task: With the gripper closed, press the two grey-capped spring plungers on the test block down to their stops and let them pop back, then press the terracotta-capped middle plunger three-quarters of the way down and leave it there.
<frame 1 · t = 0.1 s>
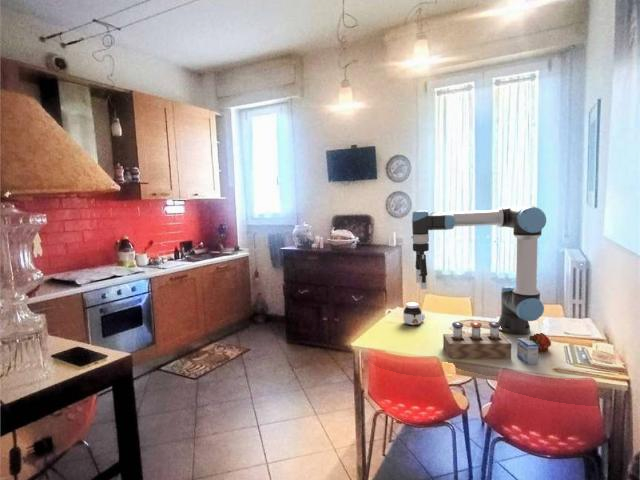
hand: (421, 285, 187), 28 cm above the table, fingers open, 13 cm apart
medicine box: (527, 360, 164), on the table
dragon fruit: (539, 350, 174), on the table
spread jar: (414, 323, 216), on the table
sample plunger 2: (494, 332, 171), point 9 cm above the table, slide at 0.0 cm
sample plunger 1: (457, 333, 172), point 9 cm above the table, slide at 0.0 cm
test block: (475, 353, 173), on the table
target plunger: (475, 333, 172), point 9 cm above the table, slide at 0.0 cm
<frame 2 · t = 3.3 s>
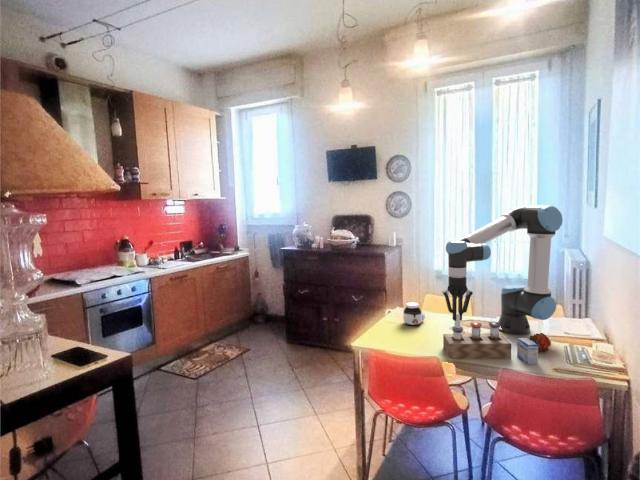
hand: (457, 327, 172), 12 cm above the table, fingers closed
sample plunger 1: (457, 337, 173), point 8 cm above the table, slide at 1.9 cm, touching gripper
everything else where it was.
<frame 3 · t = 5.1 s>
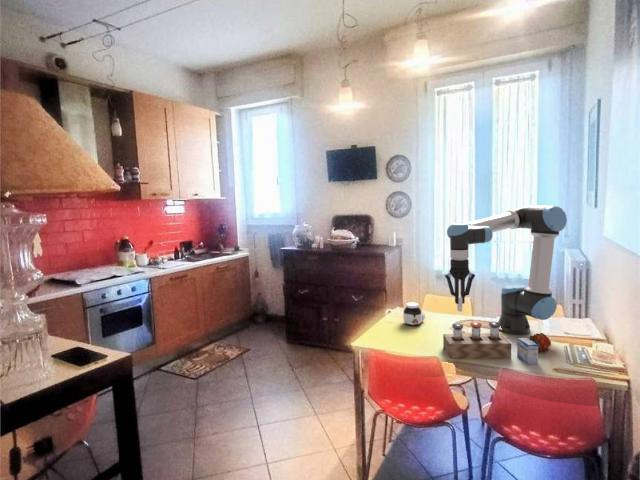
hand: (459, 310, 171), 20 cm above the table, fingers closed
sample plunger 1: (457, 334, 172), point 9 cm above the table, slide at 0.6 cm
everything else where it was.
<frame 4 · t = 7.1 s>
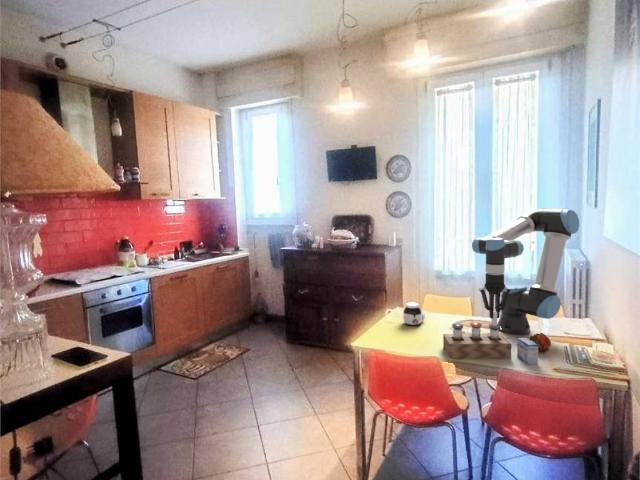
hand: (494, 325, 170), 13 cm above the table, fingers closed
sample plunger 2: (494, 335, 171), point 8 cm above the table, slide at 1.1 cm, touching gripper
everything else where it was.
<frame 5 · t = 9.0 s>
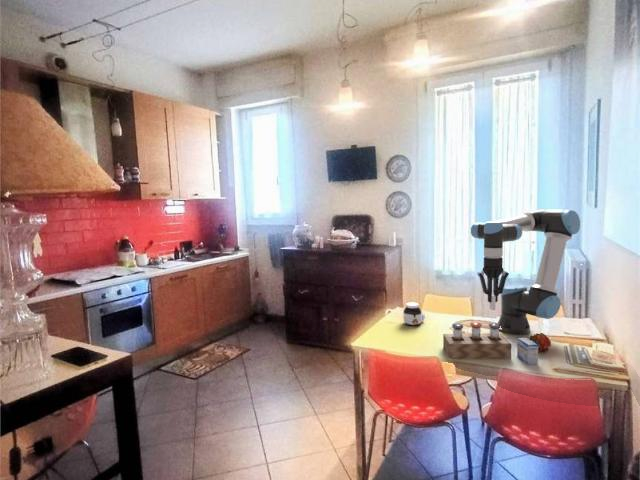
hand: (492, 309, 170), 21 cm above the table, fingers closed
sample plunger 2: (494, 334, 171), point 9 cm above the table, slide at 0.6 cm
everything else where it was.
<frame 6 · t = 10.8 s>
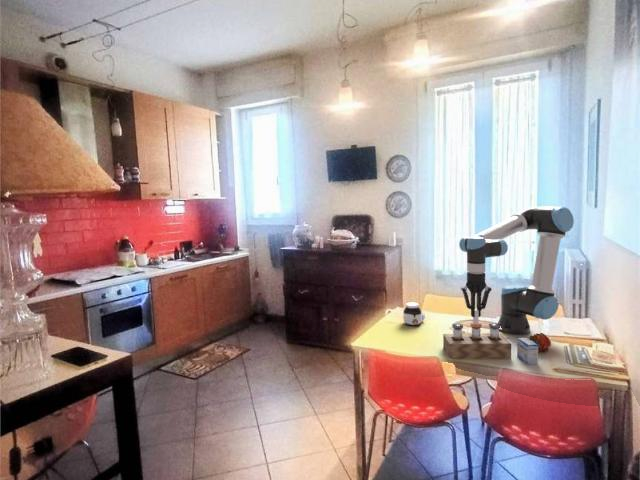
hand: (475, 323, 171), 14 cm above the table, fingers closed
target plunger: (475, 333, 172), point 9 cm above the table, slide at 0.3 cm, touching gripper
everything else where it was.
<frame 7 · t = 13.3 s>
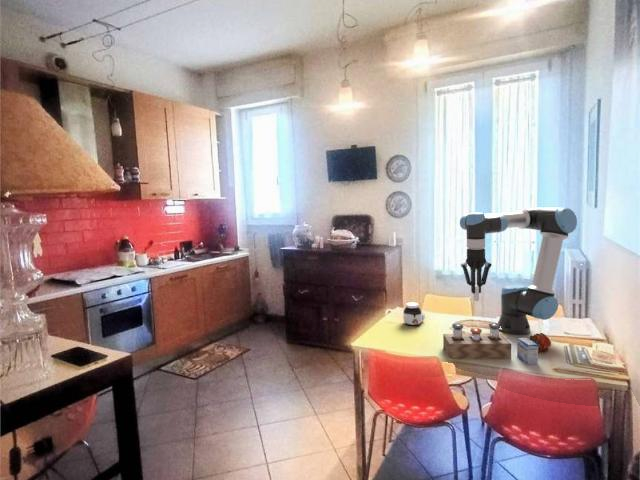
hand: (476, 300, 171), 24 cm above the table, fingers closed
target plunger: (475, 339, 172), point 7 cm above the table, slide at 2.8 cm
everything else where it was.
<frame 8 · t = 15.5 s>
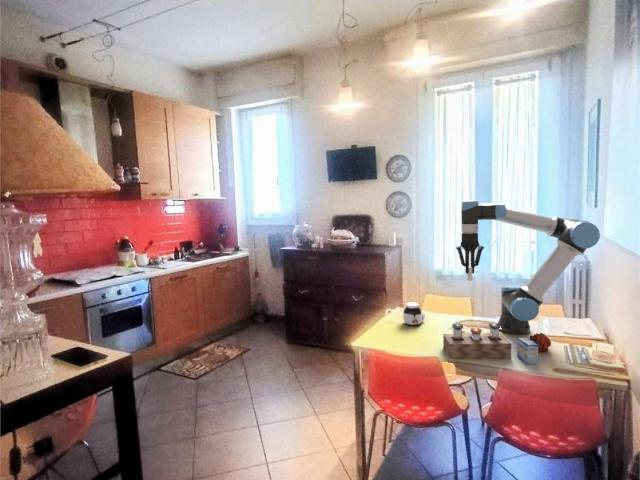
hand: (469, 279, 188), 29 cm above the table, fingers closed
nothing on the table moved.
at the end: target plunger slide at 2.8 cm; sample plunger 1 slide at 0.6 cm; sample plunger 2 slide at 0.6 cm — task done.
